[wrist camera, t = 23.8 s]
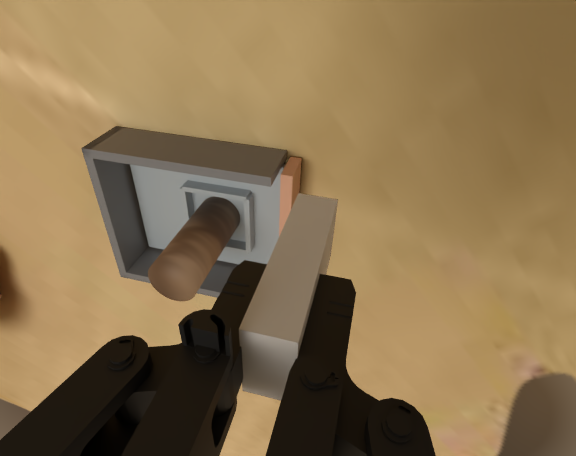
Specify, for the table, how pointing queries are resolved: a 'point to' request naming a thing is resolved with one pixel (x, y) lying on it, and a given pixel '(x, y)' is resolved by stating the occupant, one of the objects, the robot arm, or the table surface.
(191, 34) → the table surface
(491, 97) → the table surface
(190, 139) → the dock
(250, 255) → the tray
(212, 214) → the wooden dowel
